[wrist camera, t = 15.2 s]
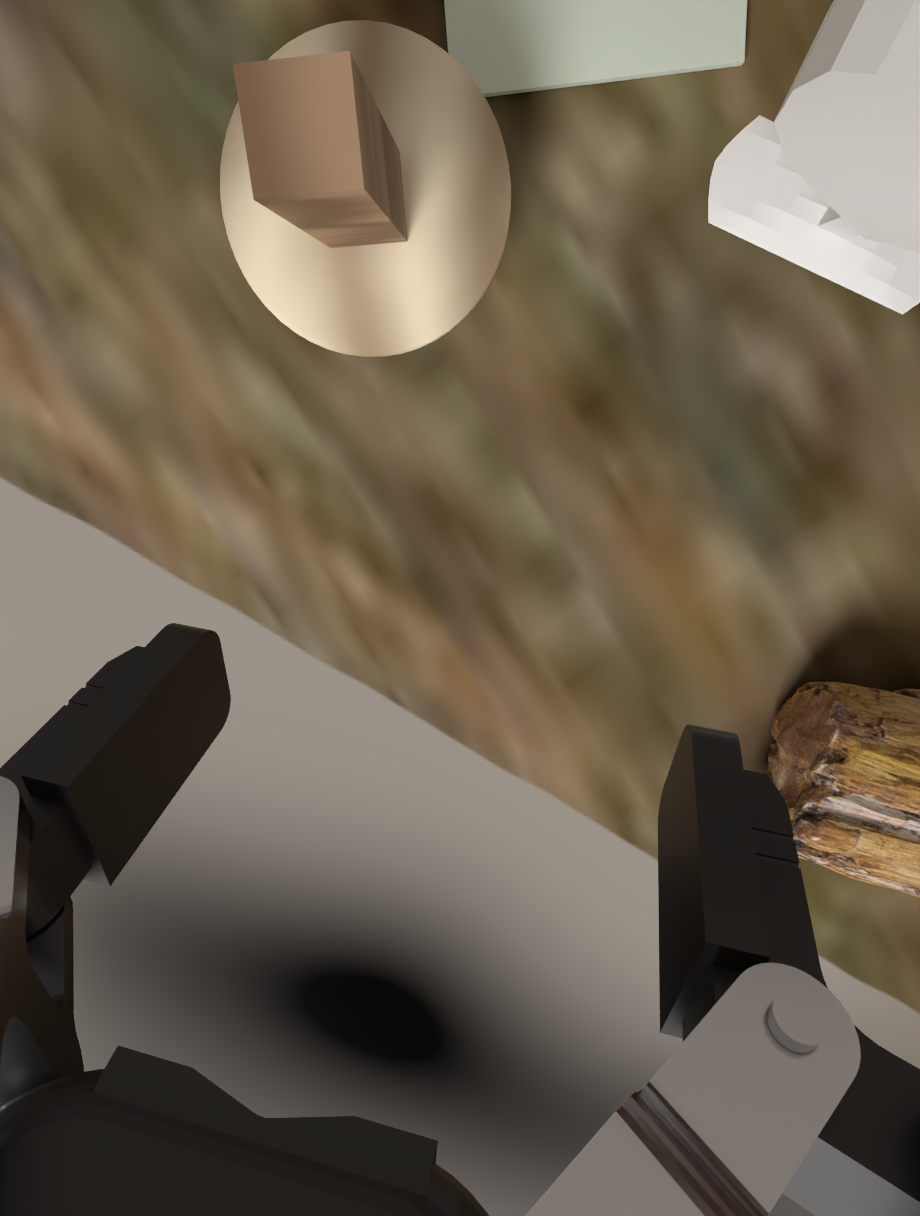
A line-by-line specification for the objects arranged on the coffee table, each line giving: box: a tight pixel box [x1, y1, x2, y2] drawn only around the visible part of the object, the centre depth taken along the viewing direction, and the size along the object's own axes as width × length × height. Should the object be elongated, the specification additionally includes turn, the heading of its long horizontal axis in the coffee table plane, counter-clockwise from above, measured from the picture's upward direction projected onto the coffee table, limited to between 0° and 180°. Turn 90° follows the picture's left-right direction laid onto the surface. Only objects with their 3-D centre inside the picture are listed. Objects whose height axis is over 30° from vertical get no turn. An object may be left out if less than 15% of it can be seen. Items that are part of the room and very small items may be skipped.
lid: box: [220, 20, 511, 356], centre depth 26 cm, size 13×13×12 cm
